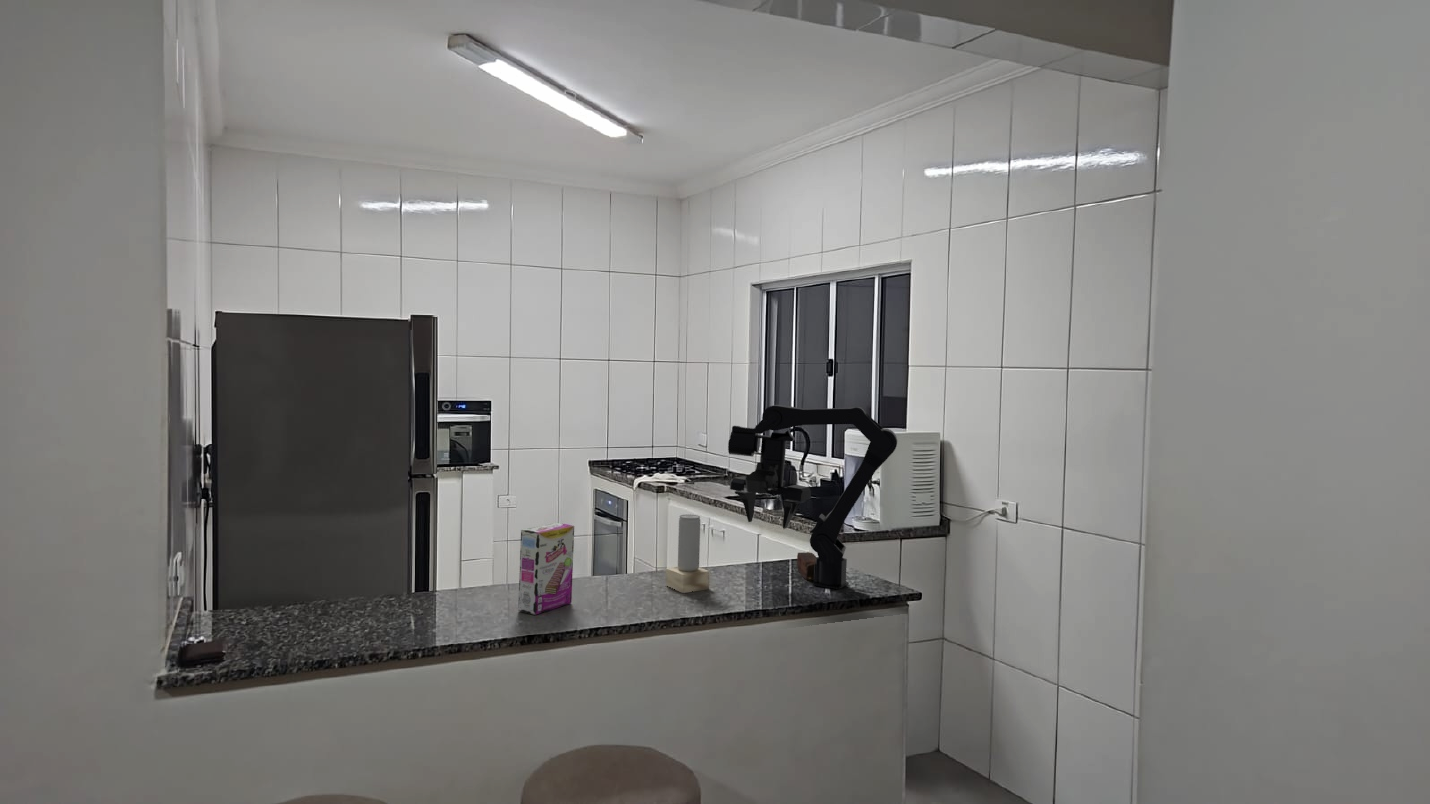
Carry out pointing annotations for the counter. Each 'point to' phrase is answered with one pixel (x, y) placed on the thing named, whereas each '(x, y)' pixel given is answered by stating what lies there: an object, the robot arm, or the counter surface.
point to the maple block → (687, 579)
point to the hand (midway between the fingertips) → (767, 525)
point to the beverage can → (689, 543)
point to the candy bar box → (546, 568)
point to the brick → (806, 565)
